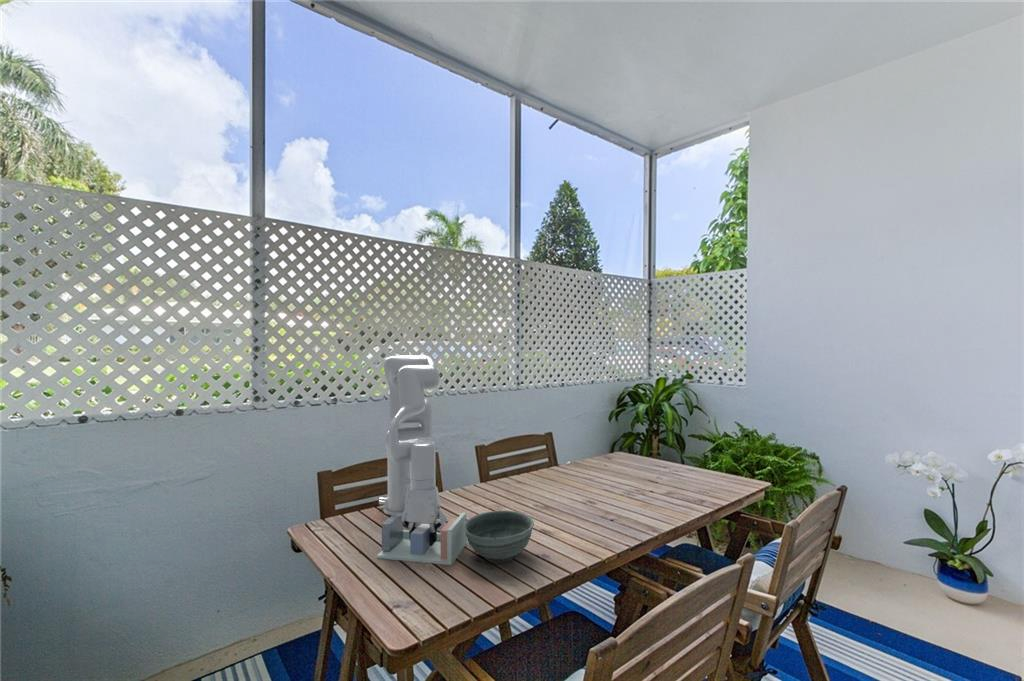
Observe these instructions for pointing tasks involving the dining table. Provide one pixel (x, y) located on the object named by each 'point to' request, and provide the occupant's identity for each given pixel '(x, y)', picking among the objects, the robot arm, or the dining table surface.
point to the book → (420, 539)
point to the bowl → (499, 534)
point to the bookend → (392, 532)
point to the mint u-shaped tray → (440, 551)
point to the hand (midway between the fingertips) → (423, 542)
